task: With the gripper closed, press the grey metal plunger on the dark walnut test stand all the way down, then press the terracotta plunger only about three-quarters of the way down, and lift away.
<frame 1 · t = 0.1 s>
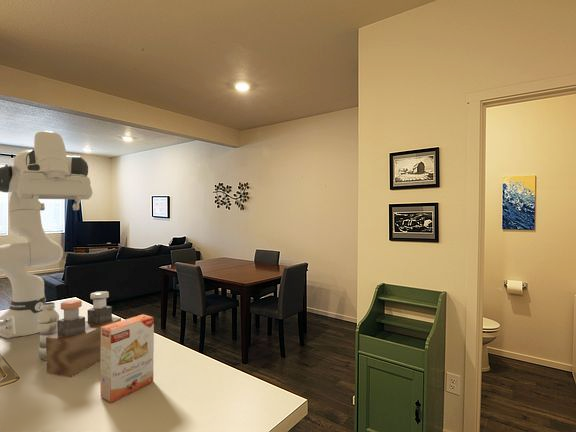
hand: (59, 209, 106), 54 cm above the kitchen counter, tool tilted 30°, fingers open, 8 cm apart
cracker box: (128, 390, 100), on the kitchen counter
grey plunger: (99, 301, 124), point 19 cm above the kitchen counter, slide at 0.0 cm
plastic bottle: (49, 358, 120), on the kitchen counter
test stand: (86, 359, 119), on the kitchen counter
terracotta plunger: (71, 311, 112), point 19 cm above the kitchen counter, slide at 0.0 cm
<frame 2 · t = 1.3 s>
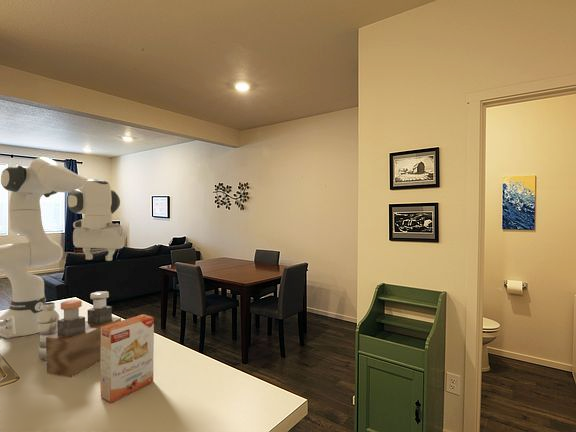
hand: (99, 259, 123), 35 cm above the kitchen counter, tool pointing down, fingers open, 8 cm apart
nothing on the kitchen counter moved.
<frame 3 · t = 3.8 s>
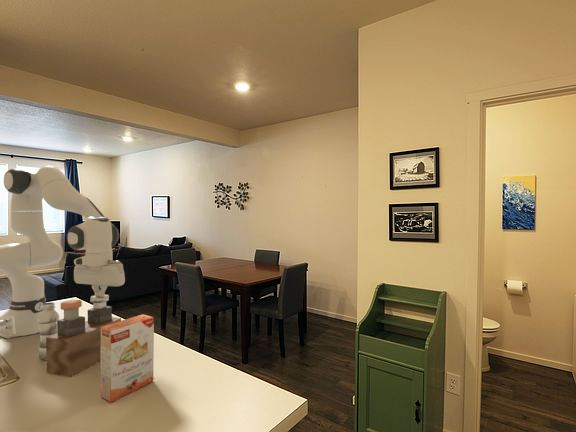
hand: (99, 296, 124), 21 cm above the kitchen counter, tool pointing down, fingers closed, pressing on grey plunger
grey plunger: (99, 304, 124), point 18 cm above the kitchen counter, slide at 1.2 cm, touching gripper
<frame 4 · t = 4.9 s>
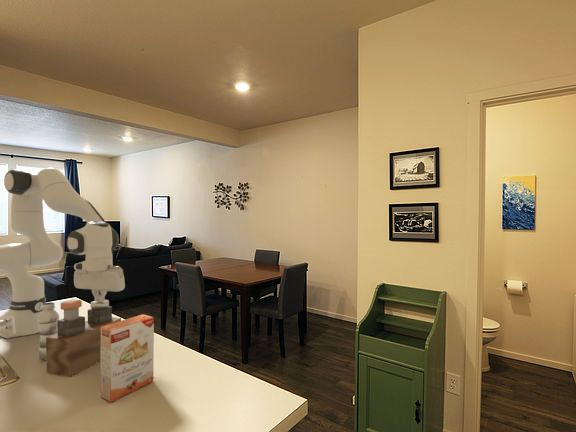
hand: (99, 301, 124), 20 cm above the kitchen counter, tool pointing down, fingers closed
grey plunger: (99, 310, 124), point 16 cm above the kitchen counter, slide at 3.3 cm
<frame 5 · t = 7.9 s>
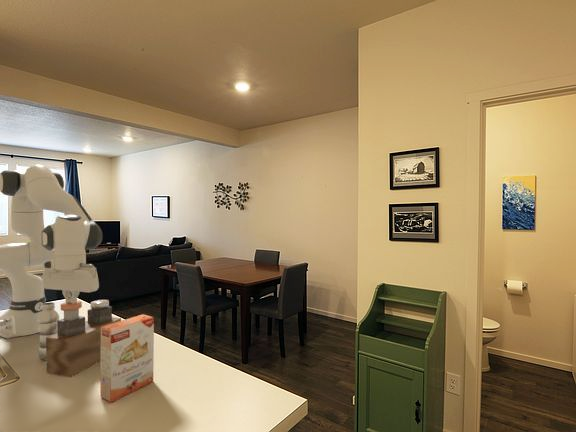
hand: (71, 303, 112), 22 cm above the kitchen counter, tool pointing down, fingers closed, pressing on terracotta plunger
terracotta plunger: (71, 312, 112), point 19 cm above the kitchen counter, slide at 0.3 cm, touching gripper
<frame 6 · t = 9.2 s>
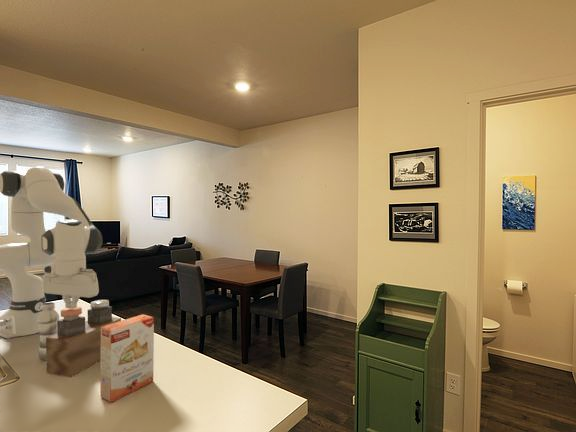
hand: (71, 307, 112), 21 cm above the kitchen counter, tool pointing down, fingers closed
terracotta plunger: (71, 318, 112), point 17 cm above the kitchen counter, slide at 2.5 cm
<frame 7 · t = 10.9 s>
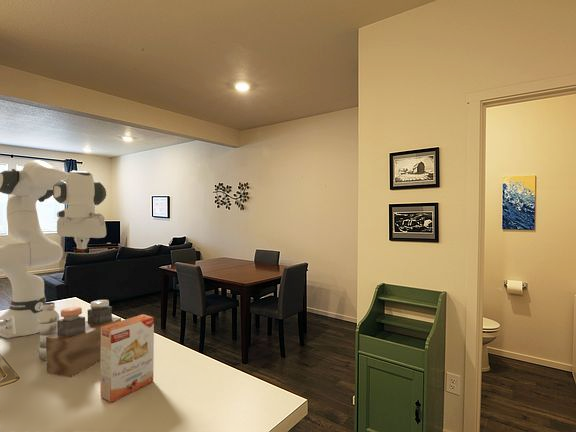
hand: (81, 248, 128), 39 cm above the kitchen counter, tool pointing down, fingers closed
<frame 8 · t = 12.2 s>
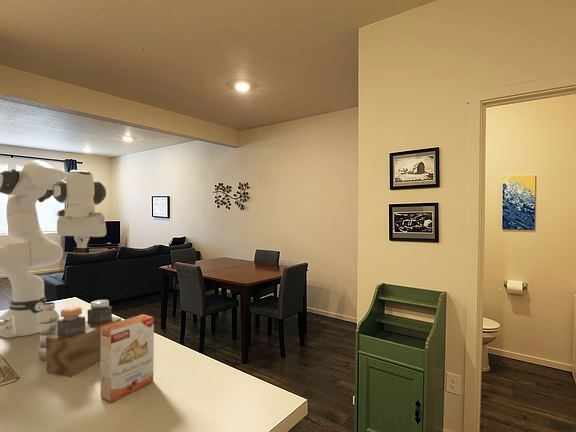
hand: (82, 247, 128), 39 cm above the kitchen counter, tool pointing down, fingers closed
at the end: grey plunger slide at 3.3 cm; terracotta plunger slide at 2.5 cm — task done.
